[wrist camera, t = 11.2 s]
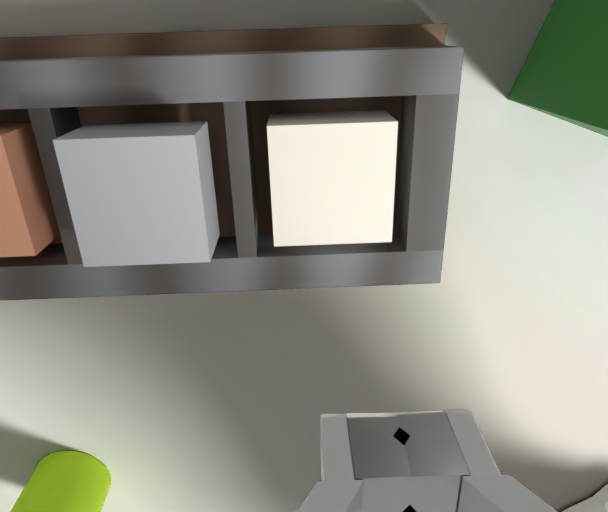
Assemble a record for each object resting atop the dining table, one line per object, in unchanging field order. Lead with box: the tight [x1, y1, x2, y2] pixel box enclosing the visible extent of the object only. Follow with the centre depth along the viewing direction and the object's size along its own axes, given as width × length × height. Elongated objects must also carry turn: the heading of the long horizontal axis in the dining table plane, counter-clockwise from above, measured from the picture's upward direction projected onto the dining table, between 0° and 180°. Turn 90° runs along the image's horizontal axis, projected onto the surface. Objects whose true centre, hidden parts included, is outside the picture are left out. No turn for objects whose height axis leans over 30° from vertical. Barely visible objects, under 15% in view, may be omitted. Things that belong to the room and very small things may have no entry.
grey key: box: [53, 121, 220, 267], centre depth 23 cm, size 6×6×4 cm
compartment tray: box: [0, 23, 464, 300], centre depth 26 cm, size 30×14×5 cm, turn 92°
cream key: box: [267, 110, 398, 247], centre depth 25 cm, size 6×6×4 cm
